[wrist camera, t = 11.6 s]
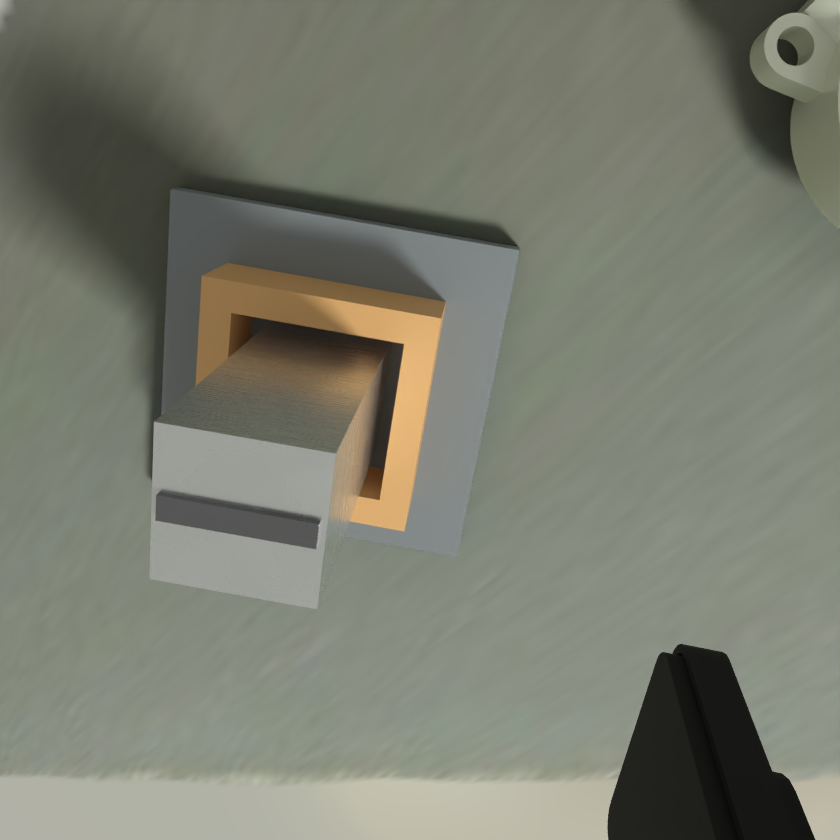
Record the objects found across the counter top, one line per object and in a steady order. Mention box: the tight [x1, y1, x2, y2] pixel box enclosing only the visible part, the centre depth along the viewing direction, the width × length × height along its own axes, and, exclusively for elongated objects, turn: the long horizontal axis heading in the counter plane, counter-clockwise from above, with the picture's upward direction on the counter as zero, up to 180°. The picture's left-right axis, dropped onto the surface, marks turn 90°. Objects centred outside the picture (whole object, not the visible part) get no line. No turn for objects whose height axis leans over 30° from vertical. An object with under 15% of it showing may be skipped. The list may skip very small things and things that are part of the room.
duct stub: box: [150, 320, 391, 609], centre depth 27 cm, size 5×5×12 cm
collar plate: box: [161, 187, 520, 557], centre depth 32 cm, size 14×14×4 cm
